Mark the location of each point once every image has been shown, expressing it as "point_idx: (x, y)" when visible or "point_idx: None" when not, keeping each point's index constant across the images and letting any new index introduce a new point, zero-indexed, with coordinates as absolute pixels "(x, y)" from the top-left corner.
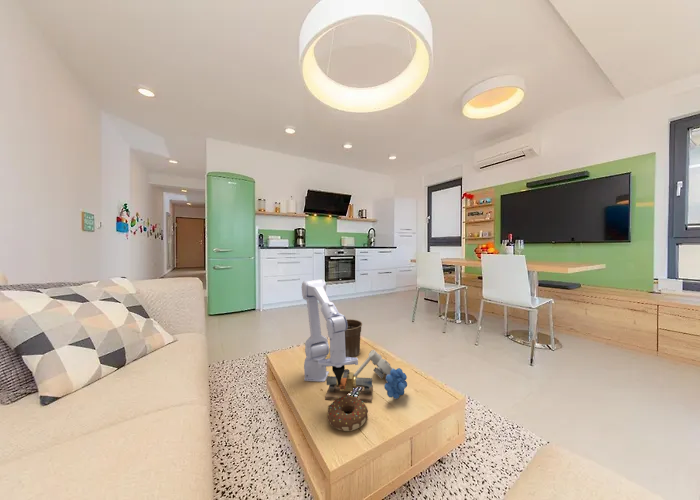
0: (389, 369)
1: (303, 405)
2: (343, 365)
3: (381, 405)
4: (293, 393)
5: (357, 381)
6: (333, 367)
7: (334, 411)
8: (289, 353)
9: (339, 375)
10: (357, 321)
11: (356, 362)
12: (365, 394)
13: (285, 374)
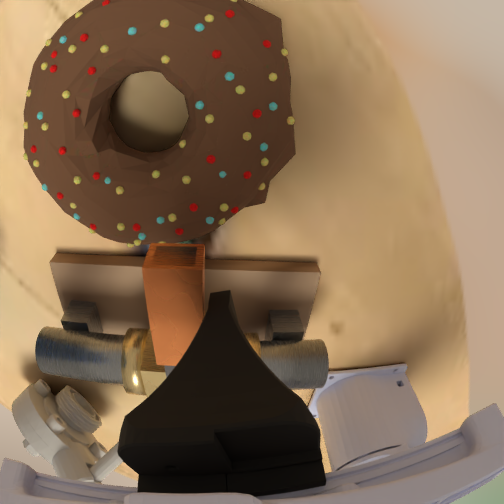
0: (17, 411)
1: (422, 216)
2: (151, 488)
3: (13, 234)
4: (453, 291)
5: (114, 358)
6: (303, 462)
7: (235, 50)
8: None
9: (205, 367)
10: None
11: (6, 484)
12: (88, 296)
13: (456, 375)
